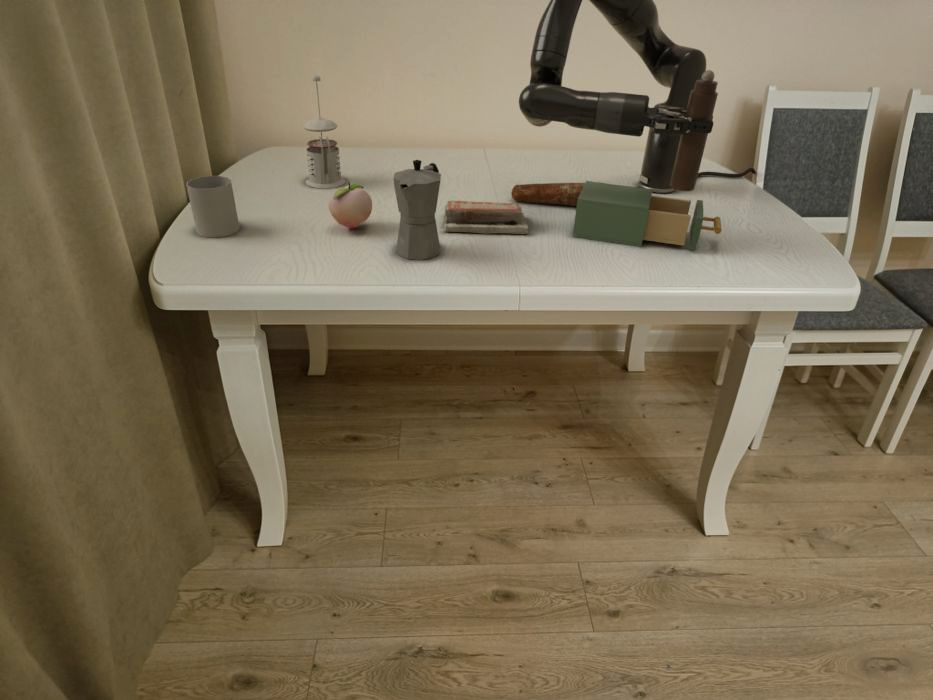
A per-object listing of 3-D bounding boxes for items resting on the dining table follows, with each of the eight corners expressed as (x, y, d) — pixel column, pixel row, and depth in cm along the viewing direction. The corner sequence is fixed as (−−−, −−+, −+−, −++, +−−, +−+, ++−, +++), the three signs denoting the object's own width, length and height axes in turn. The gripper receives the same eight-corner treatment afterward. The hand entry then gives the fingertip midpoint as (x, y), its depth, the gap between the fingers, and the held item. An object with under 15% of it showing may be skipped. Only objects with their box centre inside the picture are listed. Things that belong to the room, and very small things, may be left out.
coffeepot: (425, 268, 117) (425, 173, 107) (381, 259, 120) (377, 166, 110) (456, 238, 129) (458, 151, 119) (415, 231, 132) (414, 145, 122)
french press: (342, 174, 162) (334, 71, 148) (349, 189, 153) (341, 80, 139) (303, 177, 159) (292, 72, 146) (309, 192, 150) (297, 81, 137)
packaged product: (443, 211, 129) (444, 195, 137) (443, 233, 132) (444, 216, 140) (530, 213, 130) (525, 197, 138) (528, 235, 132) (524, 218, 141)
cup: (199, 239, 125) (189, 191, 119) (194, 225, 131) (183, 178, 125) (243, 233, 128) (234, 185, 122) (235, 219, 134) (227, 173, 129)
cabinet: (645, 225, 139) (652, 189, 134) (641, 246, 129) (649, 208, 125) (581, 216, 142) (586, 180, 138) (572, 236, 132) (577, 198, 128)
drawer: (715, 232, 135) (723, 203, 131) (717, 252, 126) (725, 221, 122) (633, 221, 139) (638, 192, 135) (629, 240, 130) (634, 209, 126)
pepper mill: (682, 182, 127) (709, 67, 115) (699, 189, 124) (729, 72, 112) (664, 184, 125) (690, 68, 113) (681, 192, 122) (709, 73, 110)
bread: (590, 210, 146) (593, 187, 143) (509, 203, 148) (511, 180, 145) (590, 201, 151) (593, 179, 148) (512, 195, 153) (514, 172, 150)
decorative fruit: (360, 239, 127) (357, 192, 122) (325, 233, 130) (320, 186, 124) (381, 224, 135) (379, 178, 129) (347, 218, 137) (344, 173, 131)
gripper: (620, 100, 113) (718, 110, 109) (628, 86, 125) (716, 95, 121) (613, 142, 117) (707, 153, 113) (621, 125, 129) (706, 135, 125)
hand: (711, 123), depth 117 cm, fingers closed on pepper mill, 5 cm apart
